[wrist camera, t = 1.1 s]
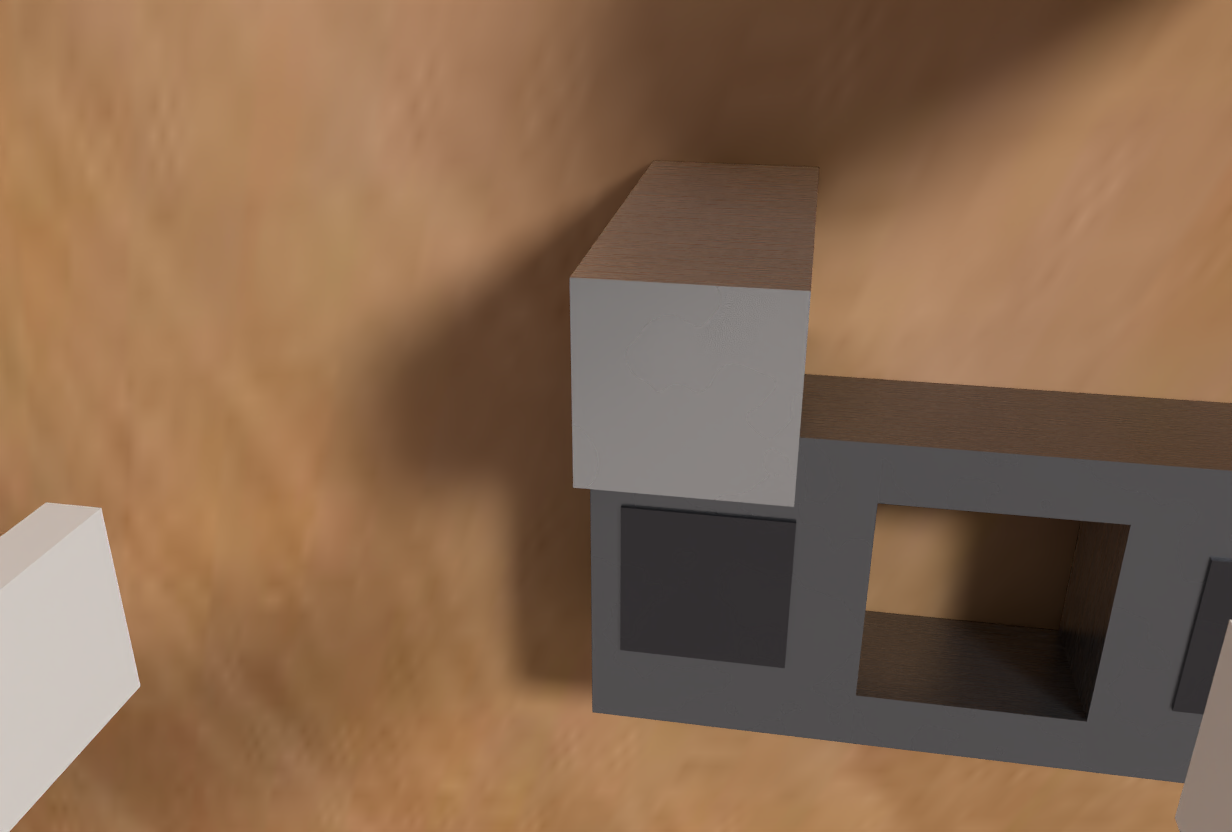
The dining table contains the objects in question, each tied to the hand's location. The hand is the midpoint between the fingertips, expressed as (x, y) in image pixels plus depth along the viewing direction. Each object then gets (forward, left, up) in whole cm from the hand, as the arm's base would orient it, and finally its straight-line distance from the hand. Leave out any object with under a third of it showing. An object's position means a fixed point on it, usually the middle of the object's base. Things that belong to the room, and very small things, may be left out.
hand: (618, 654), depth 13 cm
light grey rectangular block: (0, 0, -18) cm, 18 cm away
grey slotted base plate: (+7, -8, -18) cm, 21 cm away
